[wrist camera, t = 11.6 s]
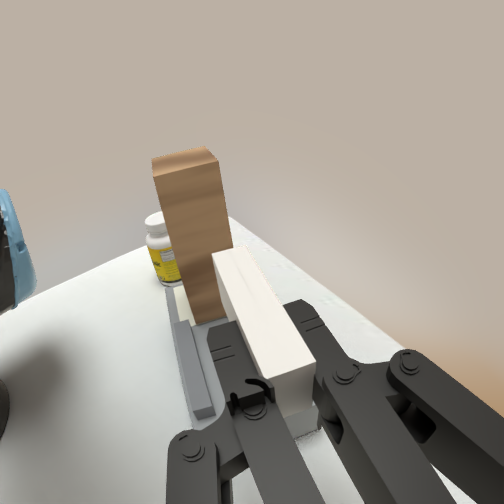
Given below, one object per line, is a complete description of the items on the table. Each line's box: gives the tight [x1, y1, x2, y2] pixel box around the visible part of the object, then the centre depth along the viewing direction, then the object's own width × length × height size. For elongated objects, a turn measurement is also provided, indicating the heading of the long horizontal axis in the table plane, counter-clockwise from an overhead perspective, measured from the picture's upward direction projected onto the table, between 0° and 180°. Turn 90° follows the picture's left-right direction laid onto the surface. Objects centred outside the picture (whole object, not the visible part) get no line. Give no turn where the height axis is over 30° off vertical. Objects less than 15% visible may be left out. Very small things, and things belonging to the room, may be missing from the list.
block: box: [152, 146, 233, 324], centre depth 30 cm, size 6×5×15 cm
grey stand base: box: [165, 283, 319, 439], centre depth 30 cm, size 20×10×6 cm, turn 18°
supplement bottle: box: [145, 211, 182, 286], centre depth 45 cm, size 5×5×10 cm
